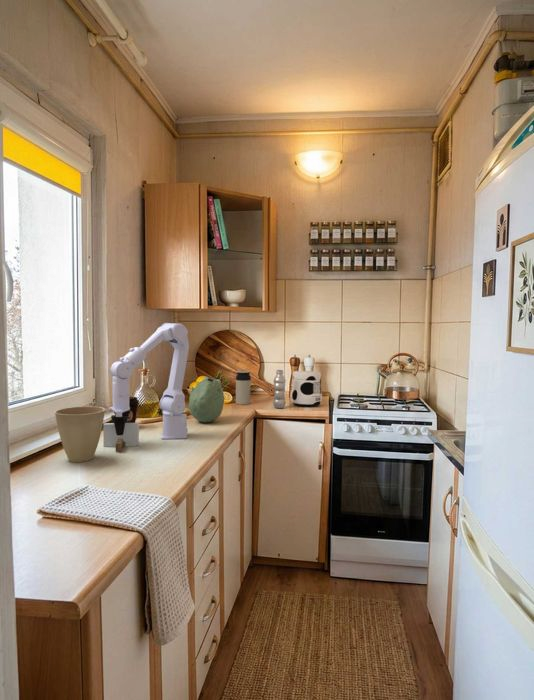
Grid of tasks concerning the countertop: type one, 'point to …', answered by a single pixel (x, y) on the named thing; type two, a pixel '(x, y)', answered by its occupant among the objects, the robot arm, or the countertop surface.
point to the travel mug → (243, 387)
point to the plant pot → (80, 431)
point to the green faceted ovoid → (206, 400)
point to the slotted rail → (119, 445)
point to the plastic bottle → (279, 390)
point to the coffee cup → (133, 409)
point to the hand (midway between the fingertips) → (120, 432)
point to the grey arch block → (128, 436)
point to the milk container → (306, 388)
